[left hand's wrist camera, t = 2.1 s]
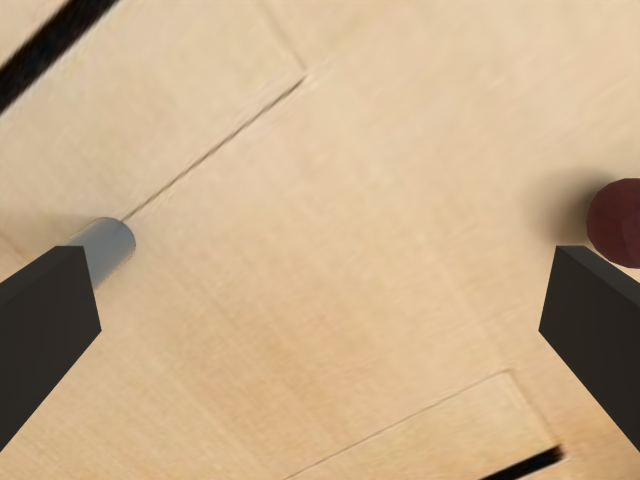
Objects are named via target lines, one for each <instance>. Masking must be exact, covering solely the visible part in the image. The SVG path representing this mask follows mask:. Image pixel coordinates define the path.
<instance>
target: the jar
mask: <svg viewBox="0 0 640 480" xmlns="http://www.w3.org/2000/svg"><path fill="white" fill-rule="evenodd" d="M58 246H84V250H85V255H86V259H87V264H88V269H89V273H90V278H91V283H92V288H93V292H94V293H95V292H96V291H97V290H98V289H99V288H100V287H101V286H102V285H103V284H104V283H105V282H106V281H107V280H108V279H109V278H110V277H111V276H112V275H113V274H114V273H115V272H116V271H117V270H118V269H119V268H120V267H121V266H122V265H123V264H124V263H125V262H126V261H127V260H128V259H129V258H130V257H131V256H132V255H133V253H134V251H135V238H134V235H133V233H132V232H131V230H130V229H129V228H128V227H127V226H126V225H125V224H124V223H122V222H120V221H118V220H116V219H112V218H100V219H97V220H95V221H93V222H92V223H90V224H89V225H87V226H86V227H84V228H83V229H81V230H80V231H78V232H77V233H75V234H74V235H72V236H71V237H70V238H68V239H67V240H65V241H64V242H62V243H61V244H59V245H58Z"/></svg>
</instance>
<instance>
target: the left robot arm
mask: <svg viewBox="0 0 640 480" xmlns="http://www.w3.org/2000/svg"><path fill="white" fill-rule="evenodd" d="M101 331H102V330H101V326H100V321H99V316H98V311H97V307H96V302H95V297H94V292H93V288H92V283H91V278H90V273H89V269H88V264H87V259H86V255H85V250H84V246H55V247H53V248H52V249H51V250H49V251H48V252H46V253H45V254H43V255H42V256H40V257H39V258H37V259H36V260H34V261H33V262H31V263H30V264H28V265H27V266H25V267H24V268H22V269H21V270H19V271H18V272H16V273H15V274H13V275H12V276H10V277H9V278H7V279H6V280H4V281H3V282H1V283H0V452H1V451H2V450H3V448H4V447H5V446H6V445H7V444H8V442H9V441H10V440H11V439H12V438H13V436H14V435H15V434H16V433H17V432H18V430H19V429H20V428H21V427H22V426H23V424H24V423H25V422H26V421H27V420H28V418H29V417H30V416H31V415H32V414H33V412H34V411H35V410H36V409H37V408H38V406H39V405H40V404H41V403H42V402H43V400H44V399H45V398H46V397H47V396H48V395H49V393H50V392H51V391H52V390H53V389H54V387H55V386H56V385H57V384H58V383H59V381H60V380H61V379H62V378H63V377H64V375H65V374H66V373H67V372H68V371H69V369H70V368H71V367H72V366H73V365H74V363H75V362H76V361H77V360H78V359H79V357H80V356H81V355H82V354H83V353H84V351H85V350H86V349H87V348H88V347H89V345H90V344H91V343H92V342H93V341H94V339H95V338H96V337H97V336H98V335H99V333H100V332H101ZM538 331H539V332H540V333H541V335H542V336H543V337H544V338H545V339H546V341H547V342H548V343H549V344H550V345H551V347H552V348H553V349H554V350H555V351H556V353H557V354H558V355H559V356H560V357H561V359H562V360H563V361H564V362H565V363H566V365H567V366H568V367H569V368H570V369H571V371H572V372H573V373H574V374H575V375H576V377H577V378H578V379H579V380H580V381H581V383H582V384H583V385H584V386H585V387H586V389H587V390H588V391H589V392H590V393H591V395H592V396H593V397H594V398H595V399H596V401H597V402H598V403H599V404H600V405H601V406H602V408H603V409H604V410H605V411H606V412H607V414H608V415H609V416H610V417H611V418H612V420H613V421H614V422H615V423H616V424H617V426H618V427H619V428H620V429H621V430H622V432H623V433H624V434H625V435H626V436H627V438H628V439H629V440H630V441H631V442H632V444H633V445H634V446H635V447H636V448H637V450H638V451H639V452H640V283H639V282H637V281H636V280H634V279H633V278H631V277H630V276H628V275H627V274H625V273H624V272H622V271H621V270H619V269H618V268H616V267H615V266H613V265H612V264H610V263H609V262H607V261H606V260H604V259H603V258H601V257H600V256H598V255H597V254H595V253H594V252H592V251H591V250H589V249H588V248H587V247H585V246H556V250H555V254H554V259H553V264H552V269H551V273H550V278H549V283H548V288H547V292H546V297H545V302H544V307H543V311H542V316H541V321H540V326H539V330H538Z"/></svg>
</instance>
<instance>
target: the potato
mask: <svg viewBox="0 0 640 480" xmlns="http://www.w3.org/2000/svg"><path fill="white" fill-rule="evenodd" d="M587 234H588V237H589V239H590V241H591V242H592V244H593V246H594V247H595V249H596V250H597V251H598V252H599V253H600V254H602V255H603V256H604V257H605V258H606V259H608V260H609V261H610V262H613V263H616V264H618V265H621V266H624V267H627V268H635V269H640V178H624V179H621V180H619V181H616V182H613V183H610V184H608V185H607V186H606V187H604V188H603V189H602V190H601V191H600V192H598V194H597V195H596V197H595V198H594V200H593V201H592V203H591V207H590V210H589V213H588V217H587Z"/></svg>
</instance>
